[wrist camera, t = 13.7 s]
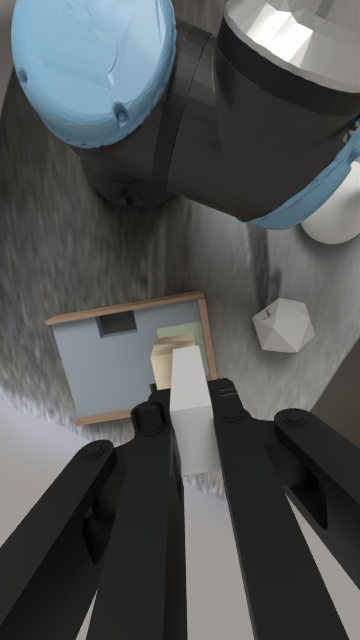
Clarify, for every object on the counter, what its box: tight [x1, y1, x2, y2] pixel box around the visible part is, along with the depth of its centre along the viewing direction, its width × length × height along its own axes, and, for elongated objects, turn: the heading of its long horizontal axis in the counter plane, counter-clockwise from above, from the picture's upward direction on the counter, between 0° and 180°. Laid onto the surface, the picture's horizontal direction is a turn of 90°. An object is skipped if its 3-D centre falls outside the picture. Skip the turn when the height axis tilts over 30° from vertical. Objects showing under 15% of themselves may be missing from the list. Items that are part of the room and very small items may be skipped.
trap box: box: [45, 290, 218, 426], centre depth 45 cm, size 24×18×6 cm
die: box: [252, 298, 315, 353], centre depth 42 cm, size 8×9×10 cm
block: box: [151, 333, 195, 390], centre depth 41 cm, size 6×6×8 cm
